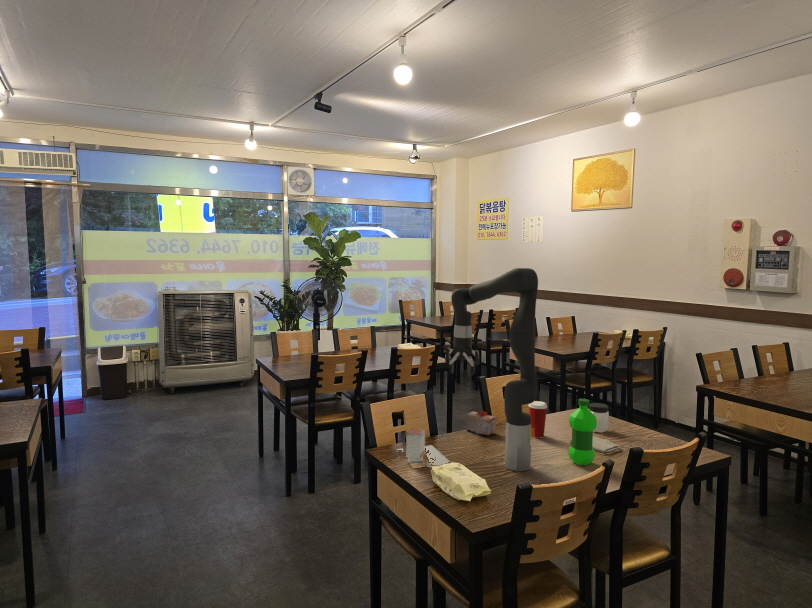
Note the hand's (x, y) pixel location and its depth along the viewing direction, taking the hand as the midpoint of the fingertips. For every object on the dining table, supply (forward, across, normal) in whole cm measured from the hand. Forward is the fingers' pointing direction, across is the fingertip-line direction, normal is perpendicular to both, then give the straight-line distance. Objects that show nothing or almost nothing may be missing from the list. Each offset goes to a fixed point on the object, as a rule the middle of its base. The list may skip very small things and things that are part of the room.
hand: (461, 373), depth 225 cm
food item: (+30, +5, +18) cm, 36 cm away
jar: (+30, +55, +42) cm, 75 cm away
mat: (+30, -9, -22) cm, 38 cm away
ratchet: (+30, -13, -24) cm, 41 cm away
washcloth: (+31, +54, +18) cm, 65 cm away
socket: (+28, -11, -27) cm, 40 cm away
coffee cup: (+30, +29, +22) cm, 48 cm away
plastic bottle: (+30, +49, -4) cm, 58 cm away
